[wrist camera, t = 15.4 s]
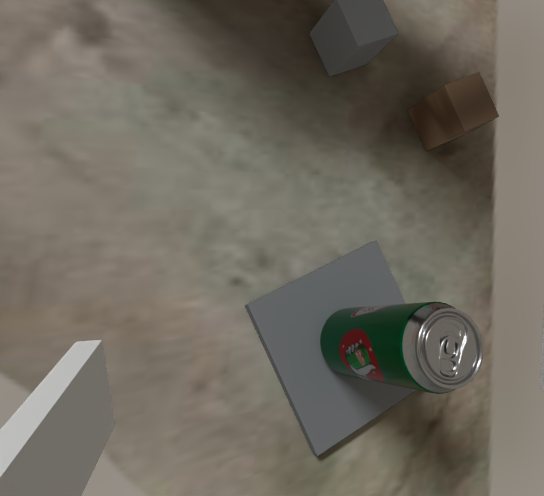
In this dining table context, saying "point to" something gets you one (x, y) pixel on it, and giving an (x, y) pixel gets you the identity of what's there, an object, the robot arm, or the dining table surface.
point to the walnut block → (452, 111)
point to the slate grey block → (352, 34)
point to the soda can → (404, 345)
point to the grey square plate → (307, 351)
